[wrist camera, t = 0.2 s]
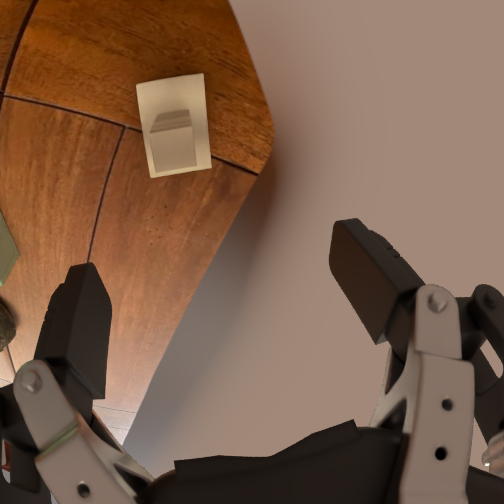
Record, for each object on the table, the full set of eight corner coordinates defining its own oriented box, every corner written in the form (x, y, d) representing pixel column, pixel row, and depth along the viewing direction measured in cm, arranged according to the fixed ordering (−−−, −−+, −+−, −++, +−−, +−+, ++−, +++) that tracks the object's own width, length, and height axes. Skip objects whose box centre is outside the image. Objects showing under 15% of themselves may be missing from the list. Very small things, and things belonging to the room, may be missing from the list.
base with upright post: (140, 82, 21) (118, 91, 13) (200, 72, 22) (212, 75, 14) (153, 166, 26) (143, 217, 18) (208, 157, 27) (223, 204, 19)
